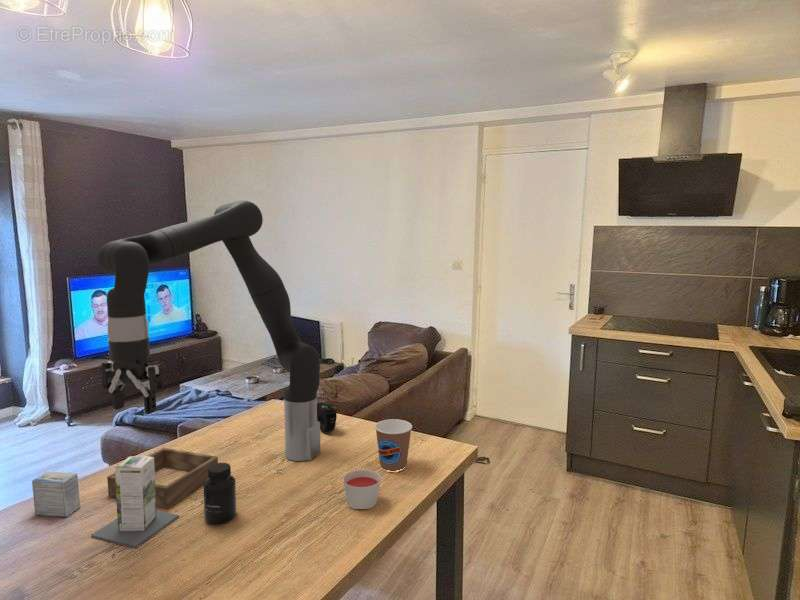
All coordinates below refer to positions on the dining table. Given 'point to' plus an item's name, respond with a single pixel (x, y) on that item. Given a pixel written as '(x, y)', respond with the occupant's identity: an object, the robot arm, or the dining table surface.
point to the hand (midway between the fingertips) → (134, 410)
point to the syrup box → (135, 493)
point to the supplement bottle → (219, 494)
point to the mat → (134, 537)
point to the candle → (362, 488)
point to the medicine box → (56, 494)
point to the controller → (326, 417)
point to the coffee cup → (393, 443)
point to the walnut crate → (182, 485)
